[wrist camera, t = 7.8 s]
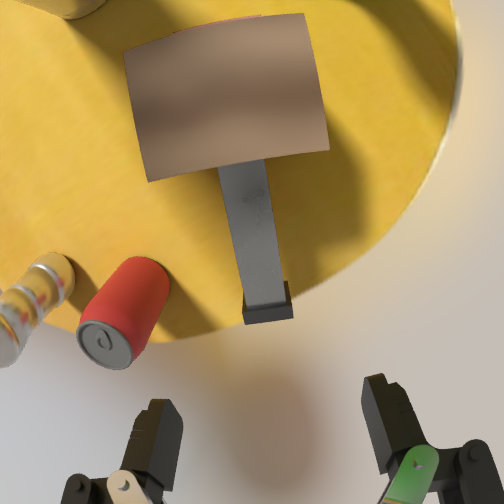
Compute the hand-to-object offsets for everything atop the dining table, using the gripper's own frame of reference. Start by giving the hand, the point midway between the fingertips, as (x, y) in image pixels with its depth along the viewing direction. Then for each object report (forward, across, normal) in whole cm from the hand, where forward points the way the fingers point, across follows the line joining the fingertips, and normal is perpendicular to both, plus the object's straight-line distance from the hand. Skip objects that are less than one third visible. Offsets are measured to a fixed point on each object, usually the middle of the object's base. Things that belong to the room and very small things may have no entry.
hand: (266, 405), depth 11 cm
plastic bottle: (+21, +26, +1) cm, 33 cm away
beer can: (+21, +14, +4) cm, 26 cm away
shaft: (+15, 0, -5) cm, 16 cm away
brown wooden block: (+21, 0, -12) cm, 24 cm away
